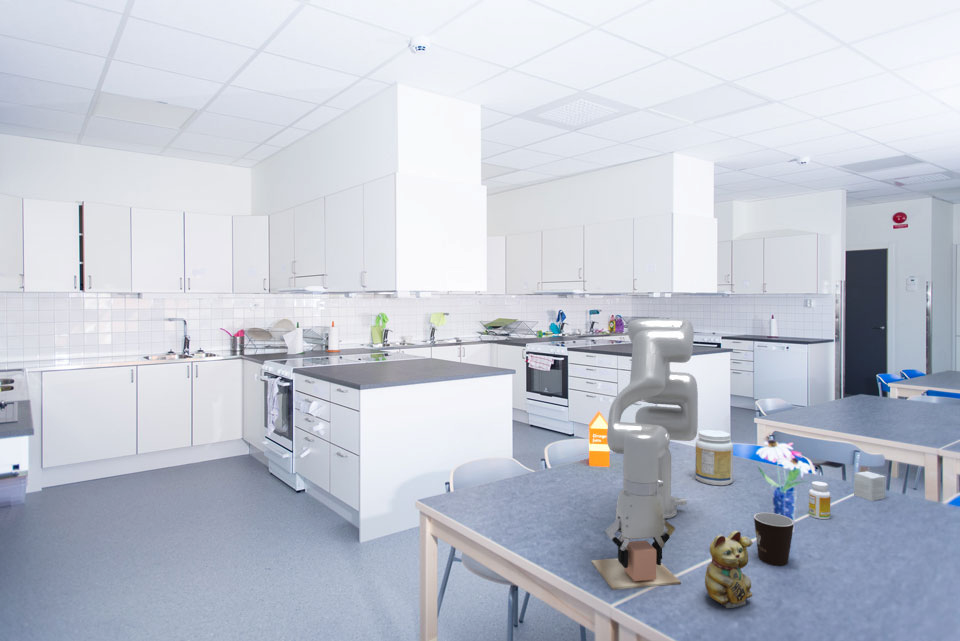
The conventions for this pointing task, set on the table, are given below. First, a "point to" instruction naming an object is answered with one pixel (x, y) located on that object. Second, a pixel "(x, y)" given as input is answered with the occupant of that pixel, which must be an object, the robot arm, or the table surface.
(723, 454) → the supplement tub
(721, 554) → the decorative figurine
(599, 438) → the orange juice
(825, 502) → the supplement bottle
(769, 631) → the table surface
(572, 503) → the table surface
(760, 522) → the coffee mug
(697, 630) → the table surface
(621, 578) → the board
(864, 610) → the table surface
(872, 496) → the pale grey block
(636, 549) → the salmon pink toy brick
